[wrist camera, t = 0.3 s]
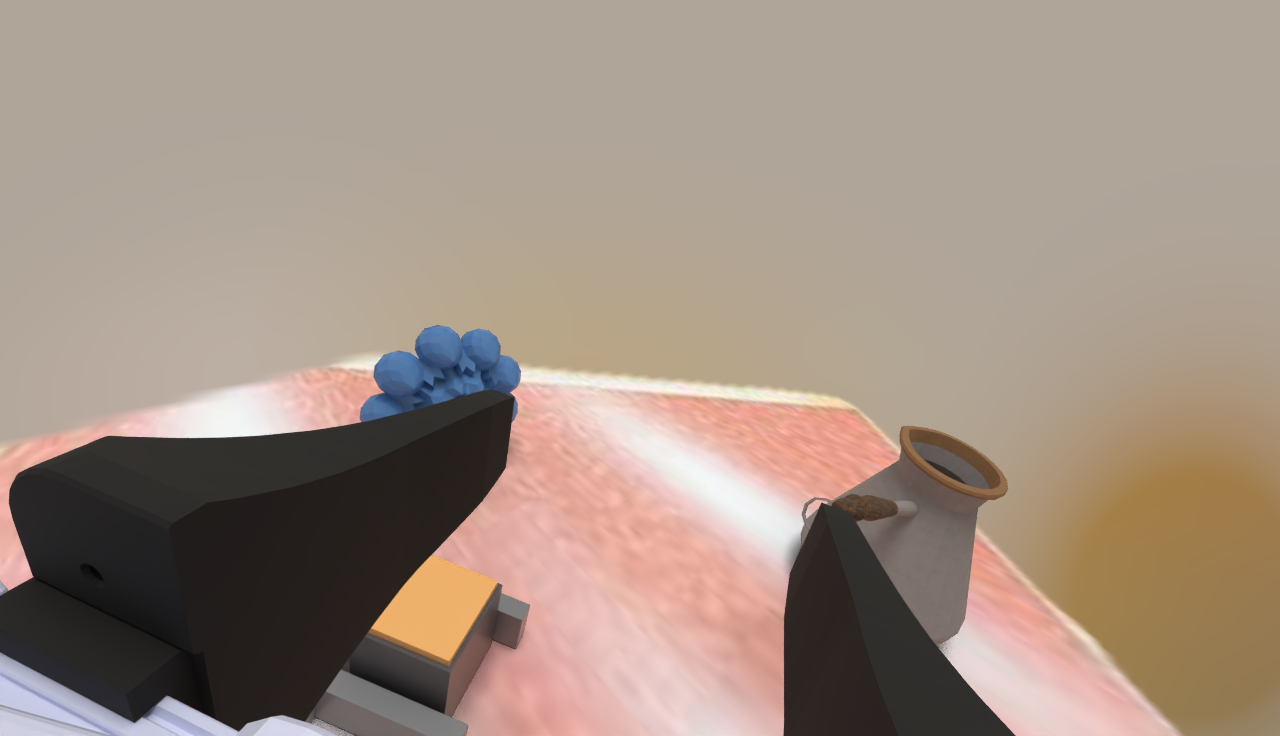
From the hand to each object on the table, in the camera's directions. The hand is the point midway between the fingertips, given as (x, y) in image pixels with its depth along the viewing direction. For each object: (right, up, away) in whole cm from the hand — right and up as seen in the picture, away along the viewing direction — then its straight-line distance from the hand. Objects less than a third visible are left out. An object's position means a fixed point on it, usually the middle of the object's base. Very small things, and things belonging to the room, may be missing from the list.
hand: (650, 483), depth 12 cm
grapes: (-14, -5, +27) cm, 31 cm away
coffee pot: (+12, -15, +25) cm, 31 cm away
